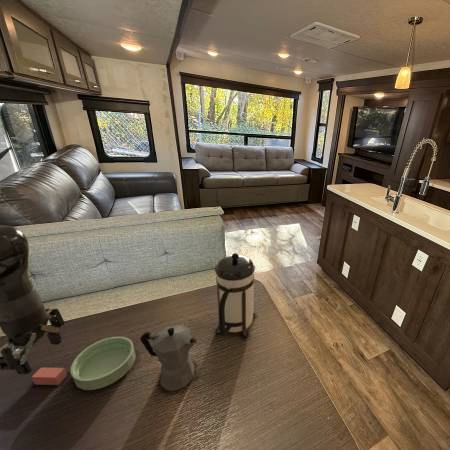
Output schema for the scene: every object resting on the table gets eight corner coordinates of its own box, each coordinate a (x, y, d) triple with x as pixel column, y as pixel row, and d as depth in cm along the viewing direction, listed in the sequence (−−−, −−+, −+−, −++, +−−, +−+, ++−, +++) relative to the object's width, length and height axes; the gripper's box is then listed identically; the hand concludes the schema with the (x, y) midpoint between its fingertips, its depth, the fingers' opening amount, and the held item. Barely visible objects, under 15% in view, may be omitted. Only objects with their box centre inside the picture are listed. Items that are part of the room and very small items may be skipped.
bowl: (60, 391, 65) (55, 380, 63) (99, 346, 78) (95, 335, 76) (116, 392, 66) (113, 381, 64) (145, 347, 79) (143, 337, 77)
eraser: (34, 384, 66) (31, 377, 65) (44, 374, 69) (41, 367, 67) (58, 385, 66) (55, 377, 65) (67, 375, 69) (64, 367, 68)
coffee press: (207, 319, 92) (201, 248, 81) (247, 305, 101) (247, 239, 89) (221, 354, 79) (217, 276, 68) (266, 335, 88) (269, 263, 76)
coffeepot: (207, 364, 76) (203, 318, 69) (192, 395, 67) (186, 347, 60) (158, 358, 76) (149, 312, 69) (137, 388, 67) (125, 339, 60)
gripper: (31, 288, 64) (51, 335, 71) (-35, 331, 51) (-4, 383, 57) (62, 289, 65) (78, 335, 71) (4, 332, 52) (31, 384, 58)
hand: (42, 357), depth 64 cm, fingers open, 8 cm apart
